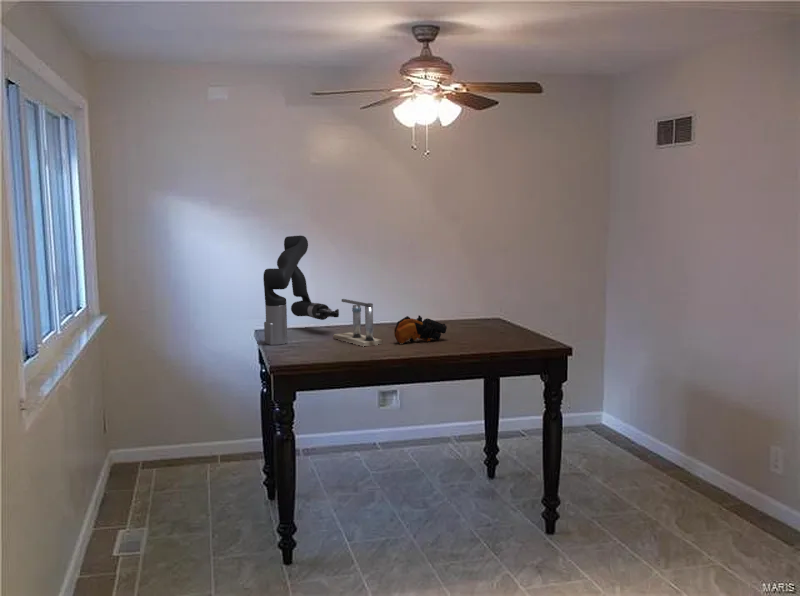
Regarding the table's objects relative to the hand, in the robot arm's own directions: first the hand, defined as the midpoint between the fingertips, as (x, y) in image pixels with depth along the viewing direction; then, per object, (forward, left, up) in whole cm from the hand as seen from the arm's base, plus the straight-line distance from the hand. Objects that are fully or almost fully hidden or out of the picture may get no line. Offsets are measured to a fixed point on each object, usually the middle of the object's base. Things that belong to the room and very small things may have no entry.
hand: (337, 315), depth 354 cm
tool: (+22, -34, -10) cm, 42 cm away
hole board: (0, -17, -10) cm, 19 cm away
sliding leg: (0, -16, -8) cm, 18 cm away
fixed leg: (0, -16, -8) cm, 18 cm away
